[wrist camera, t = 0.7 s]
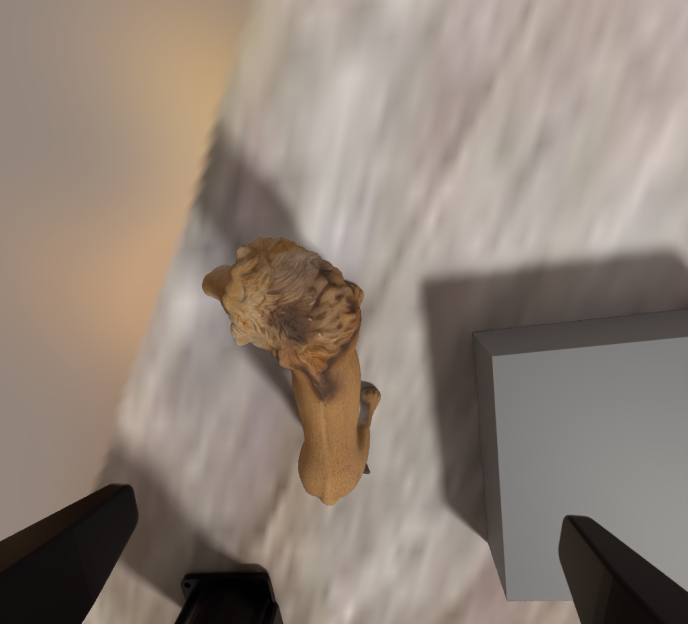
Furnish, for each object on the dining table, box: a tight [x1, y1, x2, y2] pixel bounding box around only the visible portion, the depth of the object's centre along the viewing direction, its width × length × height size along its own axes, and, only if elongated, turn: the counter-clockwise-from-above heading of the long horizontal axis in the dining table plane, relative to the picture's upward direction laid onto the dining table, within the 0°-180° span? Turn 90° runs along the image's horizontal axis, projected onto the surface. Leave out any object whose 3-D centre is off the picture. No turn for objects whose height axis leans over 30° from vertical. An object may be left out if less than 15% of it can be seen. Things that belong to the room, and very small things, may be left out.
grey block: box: [473, 309, 688, 601], centre depth 19 cm, size 12×14×4 cm
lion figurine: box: [202, 238, 381, 505], centre depth 16 cm, size 15×5×9 cm, turn 16°
